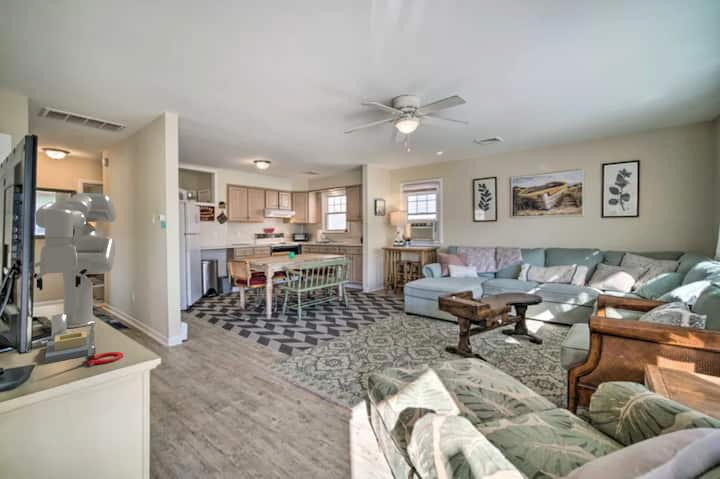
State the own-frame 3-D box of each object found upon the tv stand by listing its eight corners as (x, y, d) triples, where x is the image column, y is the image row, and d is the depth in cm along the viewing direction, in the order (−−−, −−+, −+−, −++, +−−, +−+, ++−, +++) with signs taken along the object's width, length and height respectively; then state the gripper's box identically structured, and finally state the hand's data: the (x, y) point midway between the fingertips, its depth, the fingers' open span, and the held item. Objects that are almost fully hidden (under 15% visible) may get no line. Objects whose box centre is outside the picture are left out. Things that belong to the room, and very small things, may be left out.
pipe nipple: (51, 341, 116) (51, 315, 116) (66, 339, 119) (66, 313, 118) (51, 344, 113) (51, 317, 113) (66, 341, 116) (66, 315, 116)
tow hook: (119, 353, 107) (84, 360, 100) (121, 316, 107) (86, 320, 100) (126, 360, 102) (89, 368, 95) (128, 321, 102) (92, 325, 95)
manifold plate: (47, 347, 110) (47, 333, 110) (91, 339, 118) (91, 326, 118) (45, 363, 97) (45, 347, 97) (95, 353, 105) (95, 339, 105)
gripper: (89, 241, 124) (89, 284, 124) (25, 242, 112) (26, 289, 112) (90, 242, 118) (90, 287, 119) (24, 243, 106) (24, 292, 107)
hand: (59, 288), depth 115 cm, fingers open, 9 cm apart
